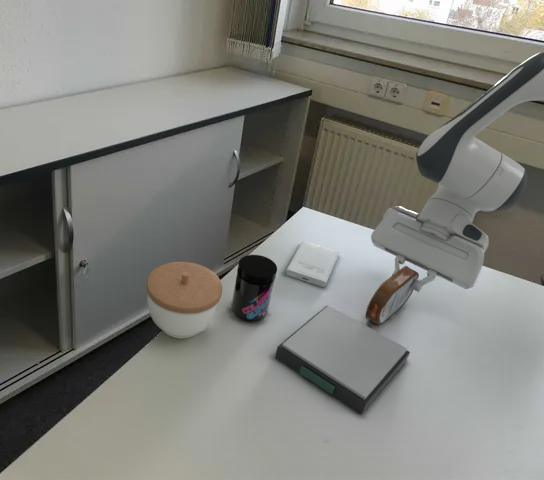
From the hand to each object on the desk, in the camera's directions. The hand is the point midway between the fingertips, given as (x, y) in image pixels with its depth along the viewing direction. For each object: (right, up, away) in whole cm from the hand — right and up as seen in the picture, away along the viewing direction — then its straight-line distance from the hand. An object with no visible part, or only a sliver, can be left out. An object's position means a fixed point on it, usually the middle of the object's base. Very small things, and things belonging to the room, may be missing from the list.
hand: (404, 284), depth 103 cm
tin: (-3, -5, 0) cm, 6 cm away
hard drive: (-15, +3, +11) cm, 19 cm away
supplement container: (-30, -5, -3) cm, 31 cm away
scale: (-16, -12, -12) cm, 23 cm away
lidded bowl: (-43, -6, -8) cm, 44 cm away
